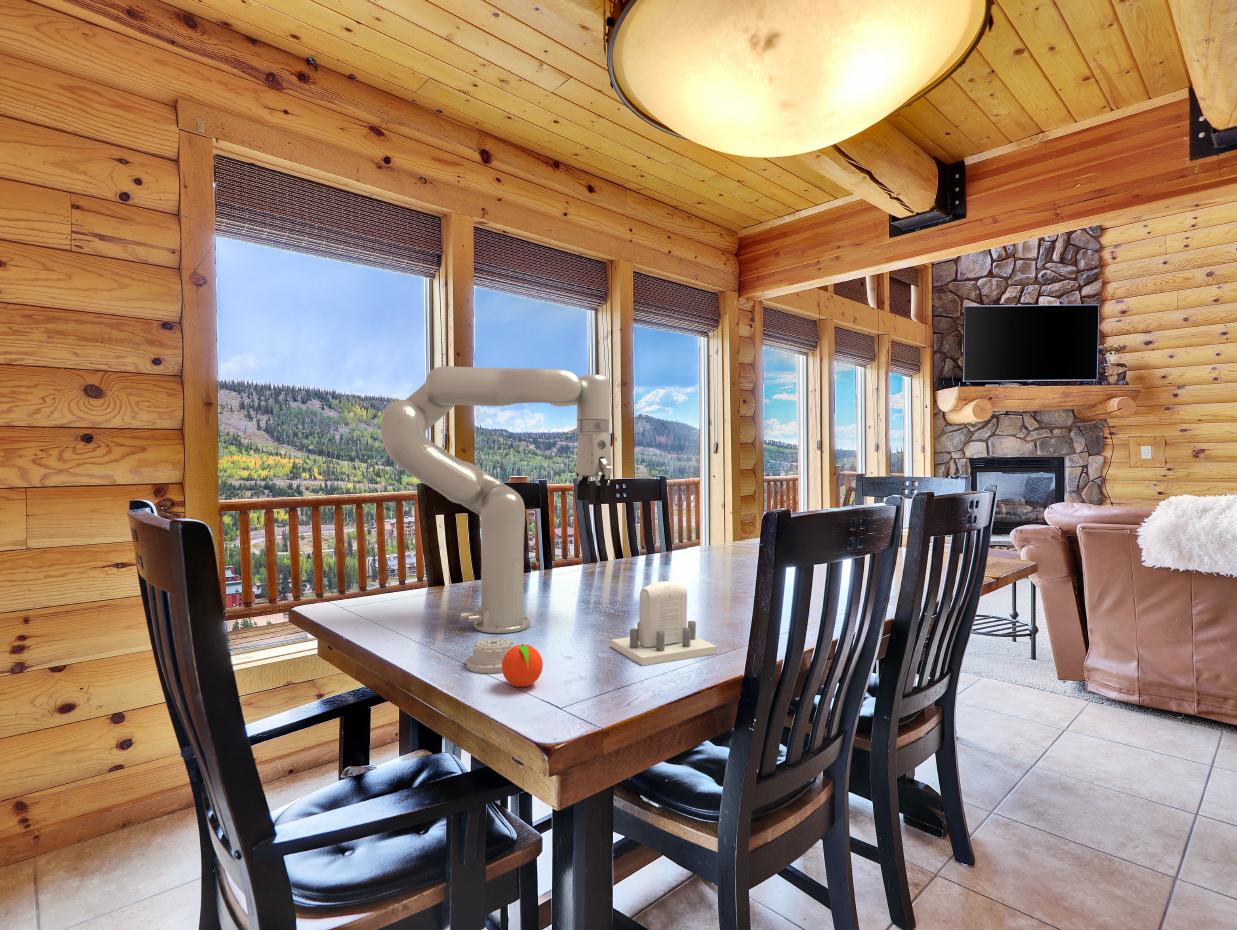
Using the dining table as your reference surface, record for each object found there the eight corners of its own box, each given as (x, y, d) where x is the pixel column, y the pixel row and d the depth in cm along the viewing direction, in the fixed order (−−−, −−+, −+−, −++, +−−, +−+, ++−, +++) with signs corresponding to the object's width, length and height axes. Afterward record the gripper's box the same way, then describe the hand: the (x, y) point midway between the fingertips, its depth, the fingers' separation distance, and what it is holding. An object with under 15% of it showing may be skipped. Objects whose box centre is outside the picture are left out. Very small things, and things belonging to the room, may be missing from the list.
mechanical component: (454, 668, 119) (494, 679, 114) (454, 644, 119) (494, 654, 114) (492, 654, 128) (531, 663, 122) (492, 632, 128) (531, 640, 122)
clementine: (548, 692, 107) (549, 650, 107) (506, 697, 105) (507, 654, 104) (537, 676, 115) (537, 636, 114) (498, 681, 112) (498, 640, 112)
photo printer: (677, 636, 135) (677, 577, 135) (689, 642, 131) (690, 581, 131) (635, 644, 129) (636, 582, 129) (647, 649, 126) (648, 586, 126)
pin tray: (642, 665, 121) (642, 639, 121) (611, 647, 132) (611, 622, 132) (716, 653, 129) (717, 628, 128) (681, 636, 140) (681, 613, 140)
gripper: (624, 427, 145) (623, 503, 145) (592, 429, 160) (591, 498, 161) (594, 426, 141) (593, 504, 142) (563, 428, 157) (563, 499, 157)
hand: (592, 501), depth 151 cm, fingers open, 9 cm apart
